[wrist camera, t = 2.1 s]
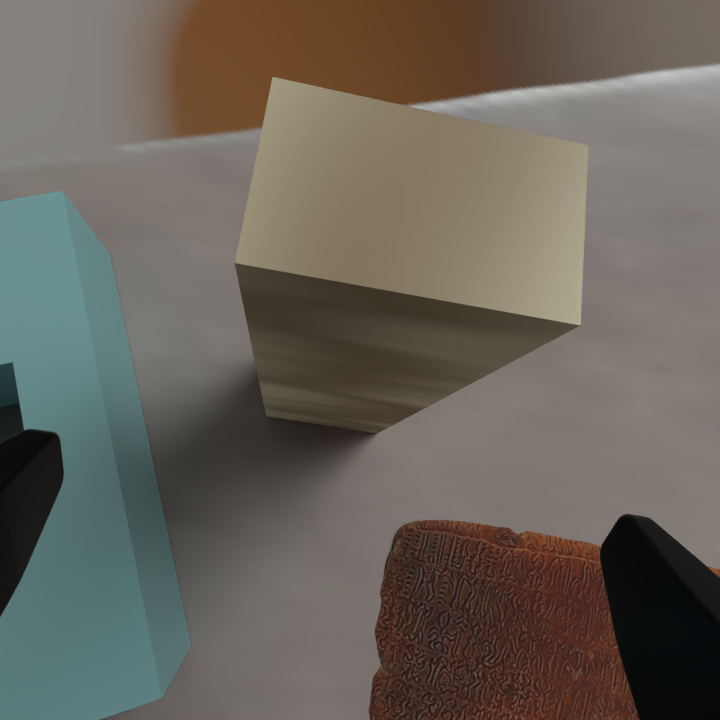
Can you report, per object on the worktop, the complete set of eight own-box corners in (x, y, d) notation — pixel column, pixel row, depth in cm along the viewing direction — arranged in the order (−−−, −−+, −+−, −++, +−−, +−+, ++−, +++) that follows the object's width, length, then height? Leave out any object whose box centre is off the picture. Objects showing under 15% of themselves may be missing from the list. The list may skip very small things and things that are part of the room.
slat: (385, 368, 21) (588, 145, 7) (377, 433, 20) (580, 324, 6) (277, 351, 20) (272, 76, 7) (266, 416, 20) (234, 262, 6)
